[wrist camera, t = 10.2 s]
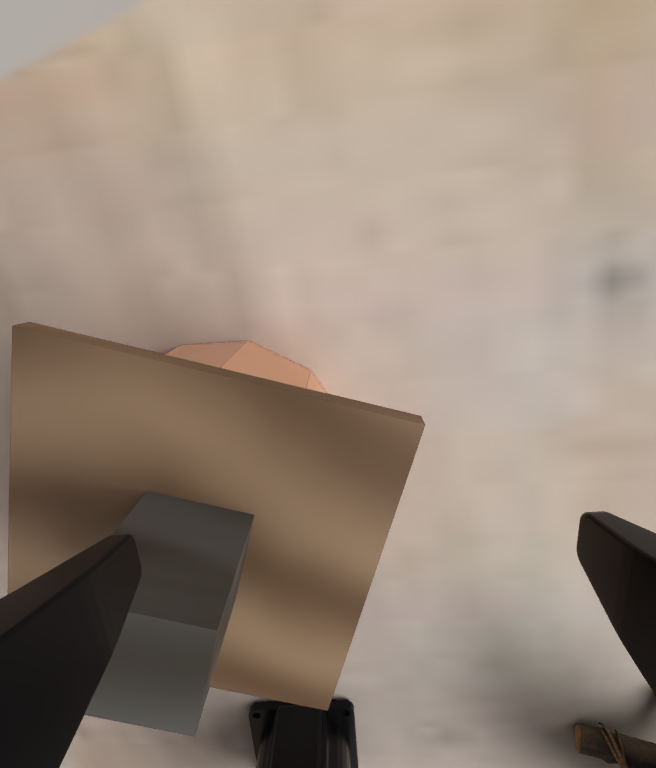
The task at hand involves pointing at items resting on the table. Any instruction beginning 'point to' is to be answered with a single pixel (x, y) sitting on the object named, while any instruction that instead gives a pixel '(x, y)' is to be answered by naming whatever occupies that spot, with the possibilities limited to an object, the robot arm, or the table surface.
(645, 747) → the bird figurine
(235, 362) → the bowl
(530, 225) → the table surface
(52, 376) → the lid
